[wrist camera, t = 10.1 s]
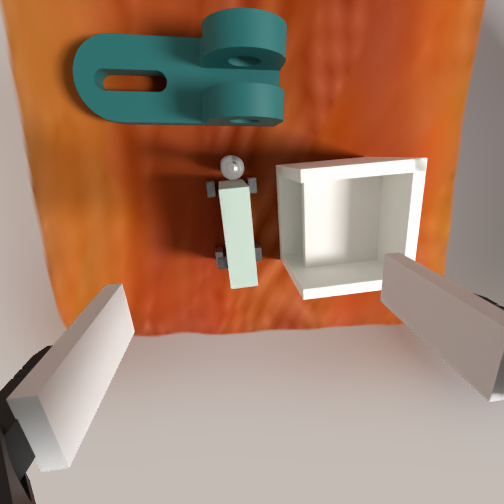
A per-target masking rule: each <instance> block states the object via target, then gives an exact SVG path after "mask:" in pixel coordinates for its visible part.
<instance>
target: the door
mask: <svg viewBox="0 0 504 504" xmlns="http://www.w3.org/2000/svg"><path fill="white" fill-rule="evenodd" d="M219 197H220V205H221V213H222V221H223V229H224V237H225V245H226V253H227V256H225V257H218V267H219V269H226V268H228V269H229V276H230V284H231V289H235V288H243V287H251V286H258V280H257V269H256V258H255V247H254V236H253V225H252V214H251V203H250V192H249V186H248V185H247V184H246V183H245V182H244V181H243V179H236V180H226V181H219Z"/></svg>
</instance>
